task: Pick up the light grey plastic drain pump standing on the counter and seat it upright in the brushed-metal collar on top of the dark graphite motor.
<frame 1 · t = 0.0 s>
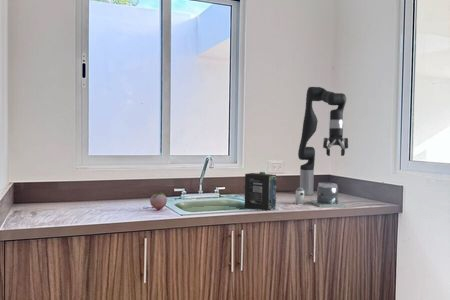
hand: (335, 155, 220), 29 cm above the worktop, fingers open, 8 cm apart
black labelled box: (260, 208, 212), on the worktop
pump: (299, 203, 227), on the worktop
decorative fruit: (158, 210, 202), on the worktop
motor: (327, 204, 226), on the worktop
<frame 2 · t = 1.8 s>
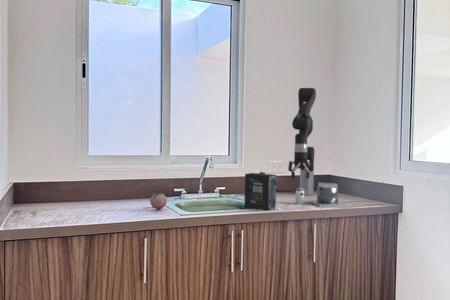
hand: (300, 178, 226), 15 cm above the worktop, fingers open, 8 cm apart
nothing on the worktop moved.
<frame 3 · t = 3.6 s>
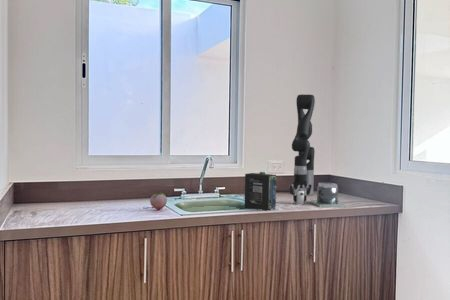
hand: (299, 201, 227), 1 cm above the worktop, fingers closed on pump, 5 cm apart
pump: (299, 203, 227), on the worktop, touching gripper
everything else where it was.
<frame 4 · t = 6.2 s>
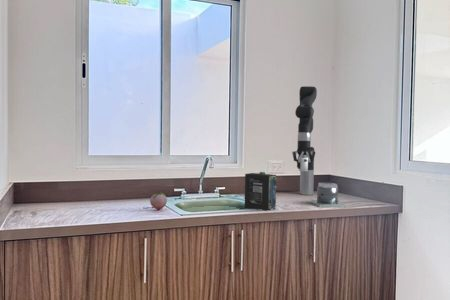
hand: (303, 168, 226), 21 cm above the worktop, fingers closed on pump, 5 cm apart
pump: (303, 170, 226), point 20 cm above the worktop, touching gripper
everything else where it was.
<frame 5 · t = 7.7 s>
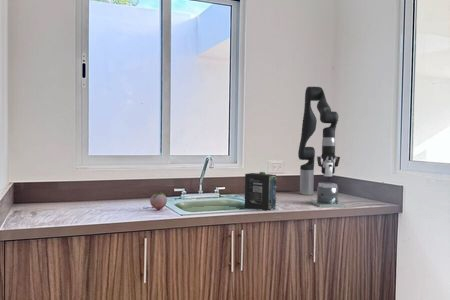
hand: (327, 173, 225), 18 cm above the worktop, fingers closed on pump, 5 cm apart
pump: (327, 176, 225), point 17 cm above the worktop, touching gripper
everything else where it was.
when the fingers open (14 cm above the worktop, at t = 8.9 s): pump drops 2 cm, resting on motor.
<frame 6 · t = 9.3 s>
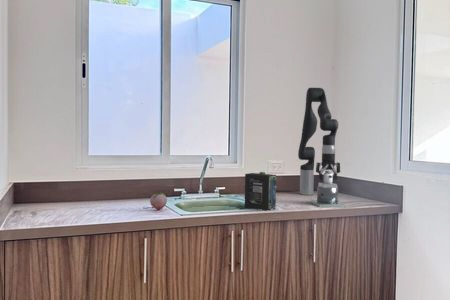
hand: (327, 180, 226), 15 cm above the worktop, fingers open, 8 cm apart
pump: (328, 186, 226), point 11 cm above the worktop, touching motor
everything else where it was.
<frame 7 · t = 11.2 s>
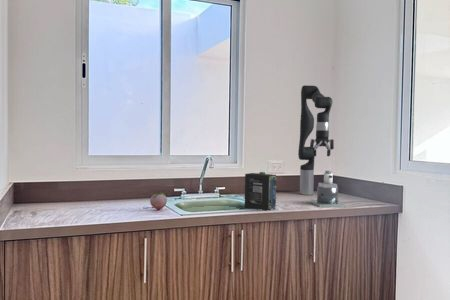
hand: (321, 156, 232), 28 cm above the worktop, fingers open, 8 cm apart
nothing on the worktop moved.
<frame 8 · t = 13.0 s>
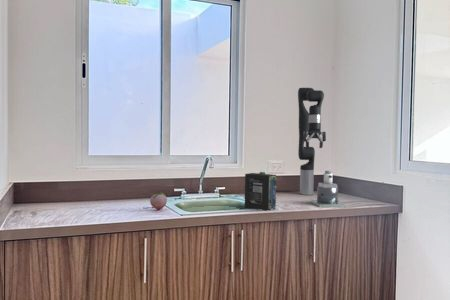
hand: (314, 148, 239), 33 cm above the worktop, fingers open, 8 cm apart
nothing on the worktop moved.
at the end: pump 0.2 cm off-centre on the motor, point 10.5 cm above the motor's base; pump tilted 0°; the gripper is holding nothing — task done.
